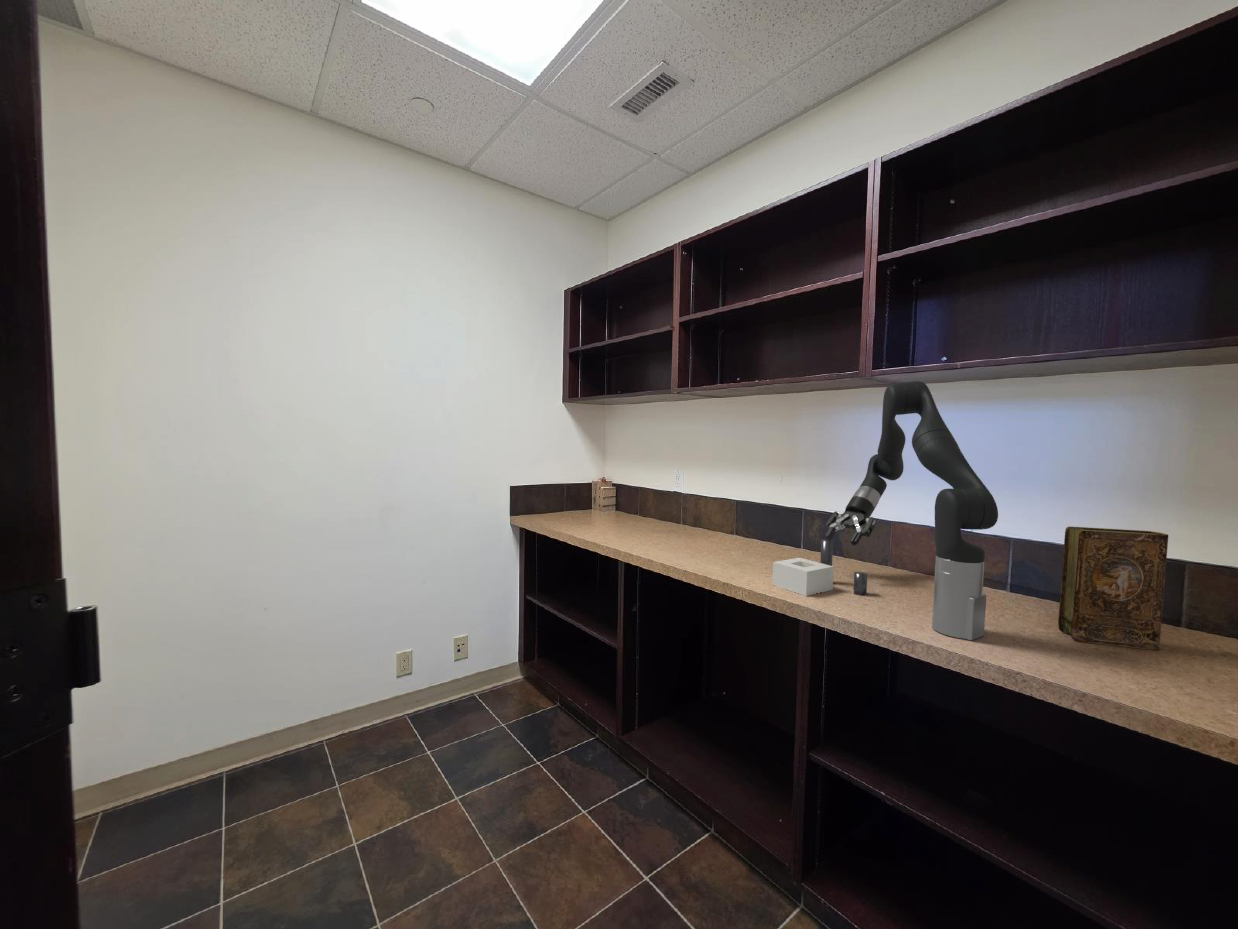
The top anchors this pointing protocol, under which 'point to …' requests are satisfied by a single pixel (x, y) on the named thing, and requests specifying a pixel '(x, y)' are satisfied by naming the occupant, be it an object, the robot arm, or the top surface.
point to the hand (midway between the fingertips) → (839, 541)
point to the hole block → (803, 576)
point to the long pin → (826, 552)
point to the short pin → (860, 583)
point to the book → (1113, 586)
